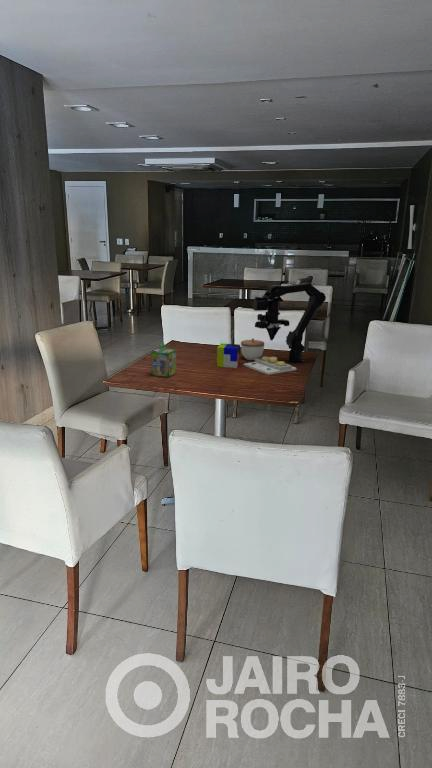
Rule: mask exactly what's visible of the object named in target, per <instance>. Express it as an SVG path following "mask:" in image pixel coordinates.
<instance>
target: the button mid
mask: <svg viewBox="0 0 432 768" xmlns="http://www.w3.org/2000/svg"><path fill="white" fill-rule="evenodd" d="M268 357H269V363H272V364H275V363H277V361H278V357H276V356H268Z"/></svg>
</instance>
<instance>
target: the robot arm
mask: <svg viewBox="0 0 432 768" xmlns="http://www.w3.org/2000/svg"><path fill="white" fill-rule="evenodd" d="M266 288H267V290H266V291H265V293H264V294H263V296H262V297H260V296H255V297H254V300H253V301H252V308H253V311H255V312H256V311H257V312H258V311H265V314H263V313H258V314H257V317H256V318H257V321H255V323H254V328H258V329H266V331H267V333H268V337H269V340H270V341H274V339H275V337H276V335H277V333H278V332H279V330H280V329H282V327H281V326H284V327H290V321H289V320H288V319H284V318H281V319H279V316H280V315H281V312H279V311H280V302H284V299H282V297H283V296H286V295H288V294H293V293H302V292H305V293H306V295H308V297H309V298H308V303H307V307H306V309H305V311H304V312H303V313H302V316H301V318H300V320H299V321H298V324H297V325H296V327H295V329H294V330H292V331H291V330H289V331H288V334H287V336H286V337H285V343H286V345H287V346H288V349H290V350H289V353H288V359H287V361H288V362H291V363H294V364H296V363H301V362H302V363H304V361H305V360H304V359H303V352H305V349H306V347H305V346H304V345H303V344H302V342H303V339H304V334H305V331H306V330H307V327H308V326H309V324H310V322H311V320H312V319H313V316H314V314H315V313H316V311H317V310H318V309H319V308H320V307H321V306H322V305H323V304H324V303H325V301H326V300H327V299H326V298H327V297H326V294H325V293H324V292H322V291H320V290H319V289H318V288H316V287H315V286H314V285H312V283H310V282H304V283H297V284H288V285H282V284H281V285H280V284H270V285H269V286H268V287H266ZM266 310H267V311H266Z"/></svg>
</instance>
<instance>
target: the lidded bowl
mask: <svg viewBox="0 0 432 768" xmlns="http://www.w3.org/2000/svg"><path fill="white" fill-rule="evenodd" d="M264 350H265V342H264V341H262V340H258V339H255V338H251V339H245V340H242V341H241V342H240V352H241V353H242V356H243V357H244V359H246V360H247V361H255V359H259V358H262V357H263V353H264Z"/></svg>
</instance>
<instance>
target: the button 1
mask: <svg viewBox="0 0 432 768" xmlns="http://www.w3.org/2000/svg"><path fill="white" fill-rule="evenodd" d="M269 357H270V356H266V355H264V356H263V355H262V356H261V358H262V361H269Z"/></svg>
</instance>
